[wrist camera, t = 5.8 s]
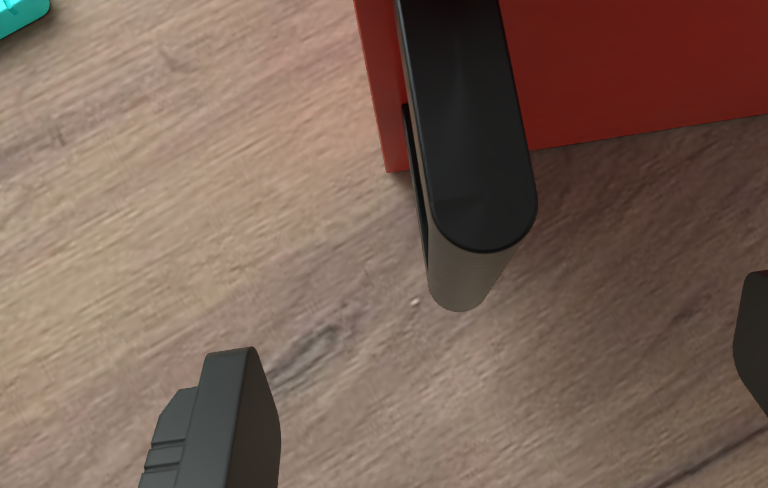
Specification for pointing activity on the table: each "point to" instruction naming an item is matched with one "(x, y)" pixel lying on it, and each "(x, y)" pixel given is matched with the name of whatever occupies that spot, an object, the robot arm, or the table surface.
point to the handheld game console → (20, 14)
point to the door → (537, 102)
